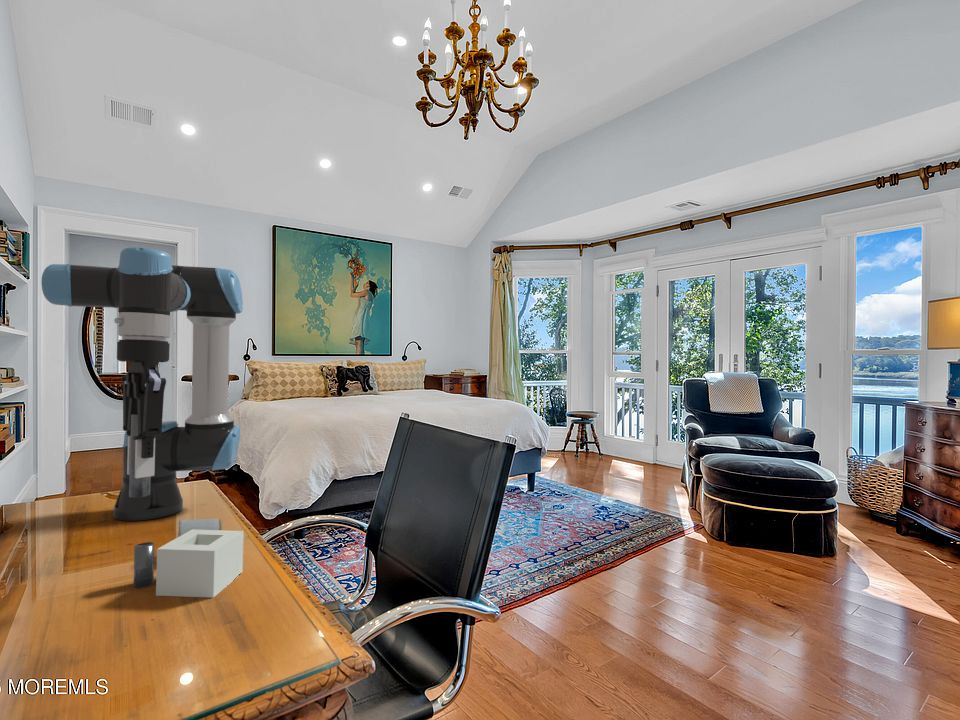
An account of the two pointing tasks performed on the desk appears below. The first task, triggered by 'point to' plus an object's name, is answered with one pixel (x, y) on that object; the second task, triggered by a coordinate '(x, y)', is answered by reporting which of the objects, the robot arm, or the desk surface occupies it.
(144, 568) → the short pin
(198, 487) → the desk surface
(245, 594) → the desk surface
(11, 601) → the desk surface
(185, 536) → the hole block
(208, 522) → the ceramic mug
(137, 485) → the long pin
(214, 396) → the robot arm
